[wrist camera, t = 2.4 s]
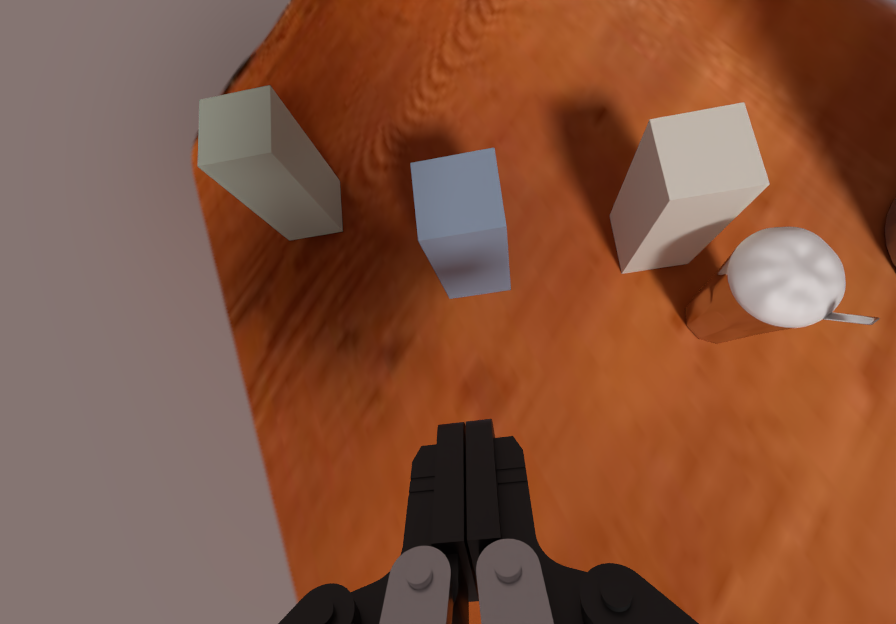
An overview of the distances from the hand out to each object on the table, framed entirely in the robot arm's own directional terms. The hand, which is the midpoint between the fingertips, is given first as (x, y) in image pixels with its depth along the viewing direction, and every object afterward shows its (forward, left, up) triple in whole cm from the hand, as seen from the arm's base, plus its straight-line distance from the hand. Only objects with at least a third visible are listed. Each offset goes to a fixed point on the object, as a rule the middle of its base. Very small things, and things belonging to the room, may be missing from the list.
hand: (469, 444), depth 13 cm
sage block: (+1, -20, -16) cm, 26 cm away
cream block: (-15, -4, -16) cm, 22 cm away
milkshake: (-15, +3, -16) cm, 22 cm away
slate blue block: (-6, -9, -16) cm, 19 cm away
